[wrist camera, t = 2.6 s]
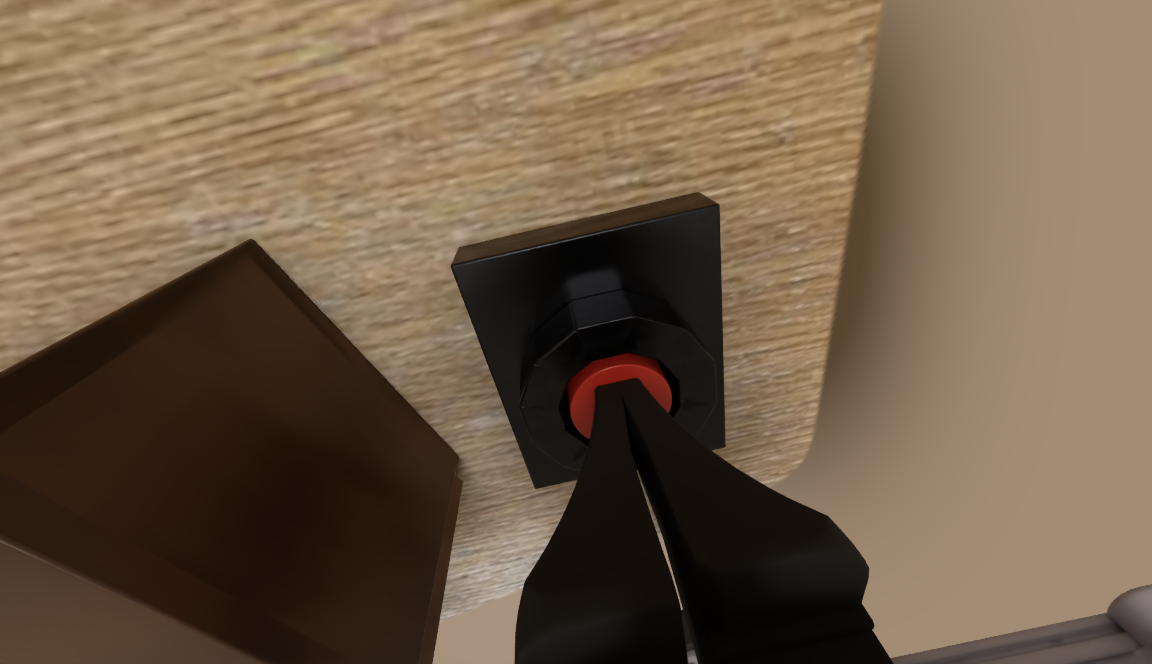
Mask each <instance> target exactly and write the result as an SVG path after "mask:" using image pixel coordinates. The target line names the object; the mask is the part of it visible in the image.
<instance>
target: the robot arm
mask: <svg viewBox="0 0 1152 664" xmlns="http://www.w3.org/2000/svg"><path fill="white" fill-rule="evenodd" d="M594 392H595V409H594V418H593V423H592V429H591V435H590V439H589V443H588V447H587V451H586V455H585V459H584V462H583V466H582V469H581V472H580V475H579V478H578V480H577V483H576V486H575V489H574V491H573V493H572V496H571V498H570V501H569V503H568V505H567V508H566V510H565V512H564V514H563V516H562V518H561V520H560V522H559V524H558V526H557V528H556V530H555V532H554V534H553V536H552V537H551V539H550V541H549V543H548V545H547V547H546V548H545V550H544V552H543V553H542V555H541V557H540V558H539V560H538V561H537V563H536V565H535V566H534V568H533V569H532V571H531V573H530V574H529V576H528V577H527V579H526V581H525V583H524V587H523V591H522V596H521V600H520V605H519V610H518V616H517V624H516V632H515V633H516V634H515V664H1152V584H1151V585H1146V586H1141V587H1137V588H1134V589H1131V590H1129V591H1127V592H1125V593H1123V594H1121V595H1120V596H1118V597H1117V598H1116V599H1115V600H1114V601H1113V602H1112V603H1111V604H1110V606H1109V607H1108V611H1107V613H1104V614H1099V615H1094V616H1090V617H1085V618H1080V619H1075V620H1070V621H1066V622H1061V623H1056V624H1051V625H1047V626H1042V627H1037V628H1032V629H1028V630H1023V631H1018V632H1013V633H1009V634H1004V635H999V636H995V637H990V638H985V639H981V640H976V641H971V642H966V643H961V644H956V645H952V646H947V647H942V648H938V649H933V650H929V651H923V652H918V653H914V654H909V655H904V656H900V657H895V658H890V657H889V656H888V654H887V653H886V651H885V649H884V648H883V646H882V645H881V643H880V642H879V640H878V638H877V637H876V635H875V634H874V632H873V631H872V629H873V628H874V623H873V620H872V619H871V617H870V616H869V614H868V612H867V611H866V609H865V608H864V606H863V605H862V599H863V595H864V592H865V589H866V585H867V582H868V578H869V567H868V565H867V563H866V561H865V560H864V558H863V557H862V555H861V554H860V552H859V551H858V550H857V549H856V547H855V546H854V544H853V543H852V542H851V541H850V540H849V538H848V537H847V536H846V535H845V534H844V533H843V532H842V531H841V529H839V527H838V526H837V525H836V524H835V523H834V522H833V521H832V520H831V519H830V518H829V517H828V516H827V515H825V514H822V513H820V512H818V511H816V510H813V509H811V508H809V507H807V506H804V505H802V504H800V503H798V502H796V501H794V500H791V499H789V498H787V497H785V496H784V495H782V494H780V493H777V492H776V491H774V490H772V489H770V488H768V487H767V486H765V485H763V484H762V483H760V482H758V481H757V480H755V479H753V478H752V477H750V476H748V475H747V474H745V473H743V472H742V471H740V470H738V469H737V468H735V467H734V466H732V465H731V464H729V463H728V462H727V461H725V460H724V459H722V458H721V457H719V456H718V455H717V454H715V453H714V452H713V451H711V450H710V449H709V448H707V447H706V446H705V445H703V444H702V443H701V442H700V441H698V440H697V439H696V438H695V437H694V436H693V435H691V434H690V433H689V432H688V431H687V430H686V429H685V428H683V427H682V426H681V425H680V424H679V423H678V422H677V421H676V420H675V419H674V418H673V417H672V416H671V415H670V414H669V413H668V412H667V411H666V410H665V409H664V408H663V407H662V406H661V405H660V404H659V403H658V402H657V400H656V399H655V398H654V397H653V396H652V395H651V394H650V392H649V391H648V390H647V389H646V387H645V386H644V385H643V383H642V382H641V380H640V379H638V378H631V379H627V380H622V381H618V382H613V383H609V384H604V385H600V386H597V387H596V388H595V390H594ZM634 462H635V464H636V467H637V470H638V472H639V475H640V478H641V480H642V483H643V485H644V488H645V491H646V493H647V496H648V498H649V501H650V504H651V506H652V509H653V511H654V514H655V517H656V519H657V522H658V525H659V528H660V530H661V533H662V536H663V539H664V543H665V546H666V550H667V553H668V557H669V561H670V564H671V567H672V571H673V575H674V578H675V582H676V585H677V589H678V592H679V596H680V600H681V603H682V607H683V611H684V614H685V618H686V622H687V625H688V629H689V632H690V636H691V640H692V643H693V647H694V649H692V650H689V651H687V650H686V643H685V636H684V629H683V622H682V615H681V608H680V603H679V599H678V596H677V593H676V589H675V586H674V582H673V579H672V576H671V573H670V570H669V567H668V564H667V561H666V559H665V556H664V553H663V550H662V547H661V544H660V541H659V538H658V535H657V532H656V529H655V526H654V523H653V520H652V517H651V514H650V511H649V508H648V505H647V502H646V499H645V496H644V493H643V489H642V486H641V483H640V480H639V477H638V473H637V470H636V467H635V464H634Z"/></svg>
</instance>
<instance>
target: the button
mask: <svg viewBox="0 0 1152 664" xmlns="http://www.w3.org/2000/svg"><path fill="white" fill-rule="evenodd" d="M631 378H638V379H640V380H641V382H642V383H643V385H644V386H645V387H646V389H647V390H648V391H649V392H650V394H651V395H652V396H653V397H654V398H655V399H656V400H657V402H658V403H659V404H660V405H661V406H662V407H663V408H664V409H665V410H666V411H667V412H668V413H669V412H670V409H671V404H672V394H671V389H670V387H669V385H668V382H667V380H666V378H665V376H664V374H663V372H662V370H661V368H660V366H659V364H658V361H657V360H656V359H651V358H647V357H643V356H639V355H634V354H630V353H627V354H622V355H618V356H613V357H609V358H604V359H600V360H595V361H593V362H591V363H590V364H589V365H588V366H586V367H585V368H584V369H582V370H581V371H580V372H579V373H577V374H576V375H575V376H574V377H572V378H571V379H570V380H569V382H568V385H567V392H568V400H569V408H570V415H571V419H572V422H573V424H574V425H575V427H576V428H577V430H578V431H579V432H580V433H581V434H582V435H583V436H585V437H586V438H588V439H590V435H591V429H592V423H593V418H594V409H595V392H594V390H595V388H596V387H597V386H600V385H604V384H609V383H613V382H618V381H622V380H627V379H631Z"/></svg>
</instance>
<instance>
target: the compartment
mask: <svg viewBox="0 0 1152 664" xmlns="http://www.w3.org/2000/svg"><path fill="white" fill-rule="evenodd" d="M457 463H458V456H457V455H456V454H455V453H454V452H453V451H452V450H451V449H450V448H449V446H448V445H447V444H446V443H445V442H444V441H443V440H442V439H441V438H440V437H439V436H438V435H437V434H436V433H435V432H434V431H433V430H432V429H431V428H430V426H429V425H428V424H427V423H426V422H425V421H424V420H423V419H422V418H421V417H420V416H419V415H418V414H417V413H416V412H415V411H414V410H413V409H412V408H411V406H410V405H409V404H408V403H407V402H406V401H405V400H404V399H403V398H402V397H401V396H400V395H399V394H398V393H397V392H396V391H395V390H394V389H393V388H392V386H391V385H390V384H389V383H388V382H387V381H386V380H385V379H384V378H383V377H382V376H381V375H380V374H379V373H378V372H377V371H376V370H375V369H374V368H373V366H372V365H371V364H370V363H369V362H368V361H367V360H366V359H365V358H364V357H363V356H362V355H361V354H360V353H359V352H358V351H357V350H356V349H355V348H354V346H353V345H352V344H351V343H350V342H349V341H348V340H347V339H346V338H345V337H344V336H343V335H342V334H341V333H340V332H339V331H338V330H337V329H336V328H335V326H334V325H333V324H332V323H331V322H330V321H329V320H328V319H327V318H326V317H325V316H324V315H323V314H322V313H321V312H320V311H319V310H318V309H317V308H316V306H315V305H314V304H313V303H312V302H311V301H310V300H309V299H308V298H307V297H306V296H305V295H304V294H303V293H302V292H301V291H300V290H299V289H298V288H297V286H296V285H295V284H294V283H293V282H292V281H291V280H290V279H289V278H288V277H287V276H286V275H285V274H284V273H283V272H282V271H281V270H280V269H279V267H278V266H277V265H276V264H275V263H274V262H273V261H272V260H271V259H270V258H269V257H268V256H267V255H266V254H265V253H264V252H263V251H262V250H261V249H260V247H259V246H258V245H257V244H256V243H255V242H254V241H253V240H251V239H250V240H247V241H245V242H243V243H242V244H240V245H238V246H236V247H234V248H232V249H230V250H228V251H227V252H225V253H223V254H221V255H219V256H217V257H215V258H213V259H212V260H210V261H208V262H206V263H204V264H202V265H200V266H198V267H197V268H195V269H193V270H191V271H189V272H187V273H185V274H183V275H182V276H180V277H178V278H176V279H174V280H172V281H170V282H168V283H167V284H165V285H163V286H161V287H159V288H157V289H155V290H153V291H152V292H150V293H148V294H146V295H144V296H142V297H140V298H139V299H137V300H135V301H133V302H131V303H129V304H127V305H125V306H124V307H122V308H120V309H118V310H116V311H114V312H112V313H110V314H109V315H107V316H105V317H103V318H101V319H99V320H97V321H95V322H94V323H92V324H90V325H88V326H86V327H84V328H82V329H80V330H79V331H77V332H75V333H73V334H71V335H69V336H67V337H65V338H64V339H62V340H60V341H58V342H56V343H54V344H52V345H50V346H49V347H47V348H45V349H43V350H41V351H39V352H37V353H35V354H34V355H32V356H30V357H28V358H26V359H24V360H22V361H20V362H19V363H17V364H15V365H13V366H11V367H9V368H7V369H5V370H4V371H2V372H0V664H419V660H420V655H421V650H422V644H423V639H424V634H425V629H426V624H427V618H428V613H429V608H430V603H431V597H432V592H433V587H434V582H435V576H436V571H437V566H438V561H439V556H440V550H441V545H442V540H443V535H444V529H445V524H446V519H447V514H448V508H449V503H450V498H451V493H452V488H453V482H454V477H455V472H456V468H457Z"/></svg>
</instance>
